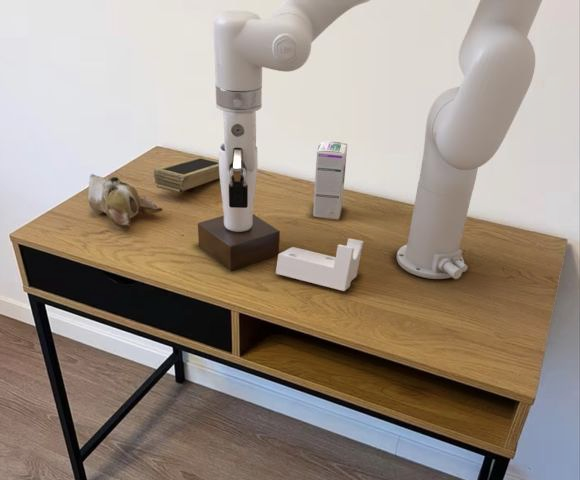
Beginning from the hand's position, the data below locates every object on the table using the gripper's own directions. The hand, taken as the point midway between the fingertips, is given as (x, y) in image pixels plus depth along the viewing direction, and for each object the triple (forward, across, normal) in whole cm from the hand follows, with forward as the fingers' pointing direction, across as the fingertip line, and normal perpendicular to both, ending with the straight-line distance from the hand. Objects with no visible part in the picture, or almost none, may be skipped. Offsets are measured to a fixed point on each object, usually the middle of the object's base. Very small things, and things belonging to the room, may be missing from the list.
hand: (239, 195), depth 114 cm
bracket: (+12, -8, -14) cm, 20 cm away
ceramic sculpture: (+11, +12, +25) cm, 30 cm away
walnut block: (+11, 0, 0) cm, 11 cm away
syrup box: (+12, +18, -18) cm, 28 cm away
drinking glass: (+6, 0, 0) cm, 7 cm away
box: (+11, +31, +11) cm, 35 cm away
